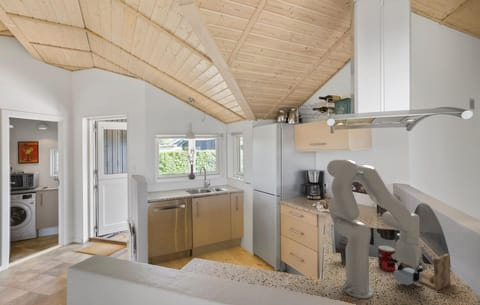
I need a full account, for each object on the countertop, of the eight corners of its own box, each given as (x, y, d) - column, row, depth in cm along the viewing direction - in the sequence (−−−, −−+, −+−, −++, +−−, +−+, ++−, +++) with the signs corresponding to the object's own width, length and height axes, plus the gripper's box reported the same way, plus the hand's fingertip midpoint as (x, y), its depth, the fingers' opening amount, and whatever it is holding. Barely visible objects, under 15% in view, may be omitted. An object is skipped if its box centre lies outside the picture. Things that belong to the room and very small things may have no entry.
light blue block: (407, 285, 109) (407, 277, 109) (393, 278, 114) (393, 271, 115) (421, 280, 115) (421, 272, 115) (408, 274, 120) (408, 267, 120)
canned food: (379, 263, 138) (379, 244, 138) (396, 267, 133) (396, 247, 133) (377, 268, 132) (376, 248, 132) (394, 273, 127) (394, 251, 127)
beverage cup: (338, 259, 144) (338, 225, 144) (351, 261, 142) (351, 226, 142) (339, 265, 137) (339, 229, 137) (353, 266, 135) (353, 230, 135)
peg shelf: (437, 290, 110) (437, 259, 111) (399, 275, 125) (399, 247, 125) (450, 284, 116) (449, 254, 116) (412, 269, 131) (412, 243, 131)
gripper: (386, 234, 121) (385, 271, 121) (425, 246, 106) (424, 288, 105) (394, 233, 125) (393, 268, 124) (434, 244, 109) (433, 284, 109)
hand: (408, 277), depth 115 cm, fingers closed on light blue block, 6 cm apart
